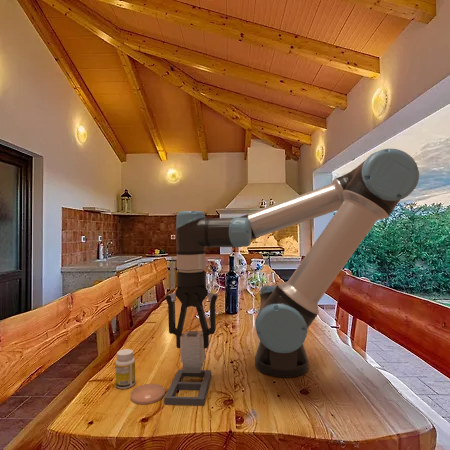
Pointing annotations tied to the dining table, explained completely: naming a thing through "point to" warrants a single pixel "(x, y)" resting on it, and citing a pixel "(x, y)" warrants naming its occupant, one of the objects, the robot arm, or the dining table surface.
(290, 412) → the dining table surface
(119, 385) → the supplement bottle
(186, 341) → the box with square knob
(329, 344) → the dining table surface
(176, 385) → the grey double frame
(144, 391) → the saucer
